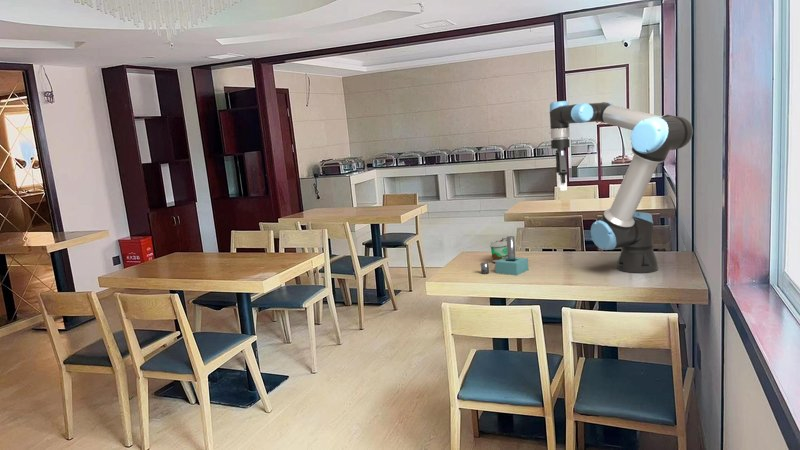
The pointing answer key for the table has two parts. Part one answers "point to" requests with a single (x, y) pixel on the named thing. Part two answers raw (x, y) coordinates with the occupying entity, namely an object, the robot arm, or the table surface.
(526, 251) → the table surface
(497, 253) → the food container
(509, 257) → the long pin
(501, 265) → the drilled block
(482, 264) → the short pin
